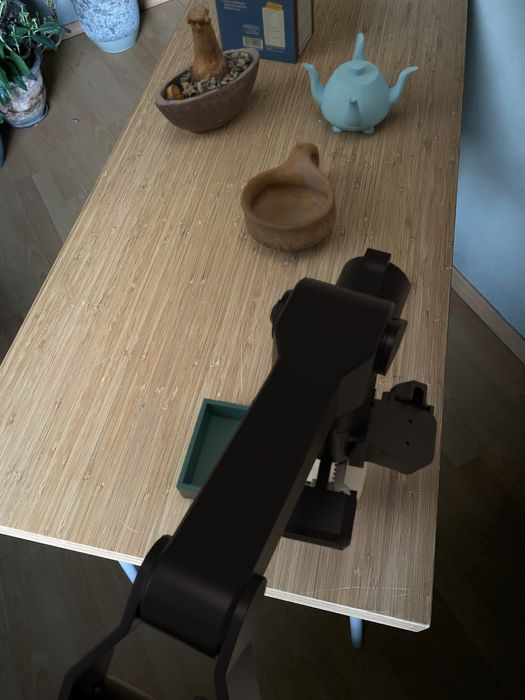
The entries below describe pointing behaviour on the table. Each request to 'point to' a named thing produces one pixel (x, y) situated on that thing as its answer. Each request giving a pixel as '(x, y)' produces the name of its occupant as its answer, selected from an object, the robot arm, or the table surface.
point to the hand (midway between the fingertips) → (330, 467)
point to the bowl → (290, 202)
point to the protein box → (266, 26)
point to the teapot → (356, 93)
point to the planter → (208, 80)
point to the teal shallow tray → (208, 443)
